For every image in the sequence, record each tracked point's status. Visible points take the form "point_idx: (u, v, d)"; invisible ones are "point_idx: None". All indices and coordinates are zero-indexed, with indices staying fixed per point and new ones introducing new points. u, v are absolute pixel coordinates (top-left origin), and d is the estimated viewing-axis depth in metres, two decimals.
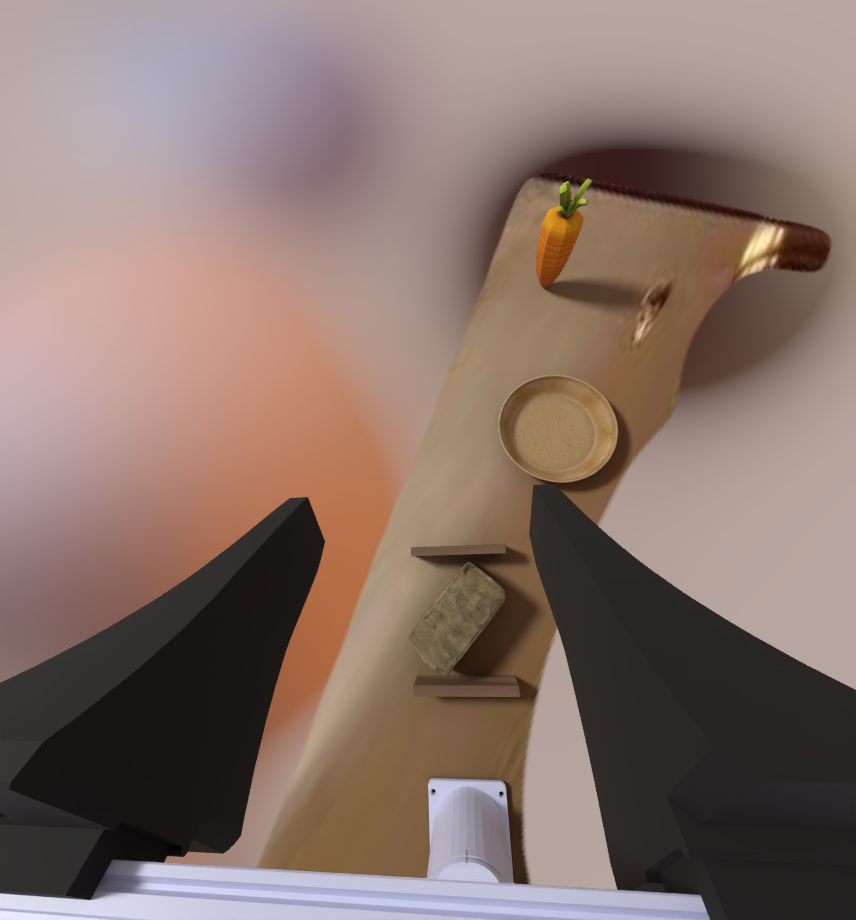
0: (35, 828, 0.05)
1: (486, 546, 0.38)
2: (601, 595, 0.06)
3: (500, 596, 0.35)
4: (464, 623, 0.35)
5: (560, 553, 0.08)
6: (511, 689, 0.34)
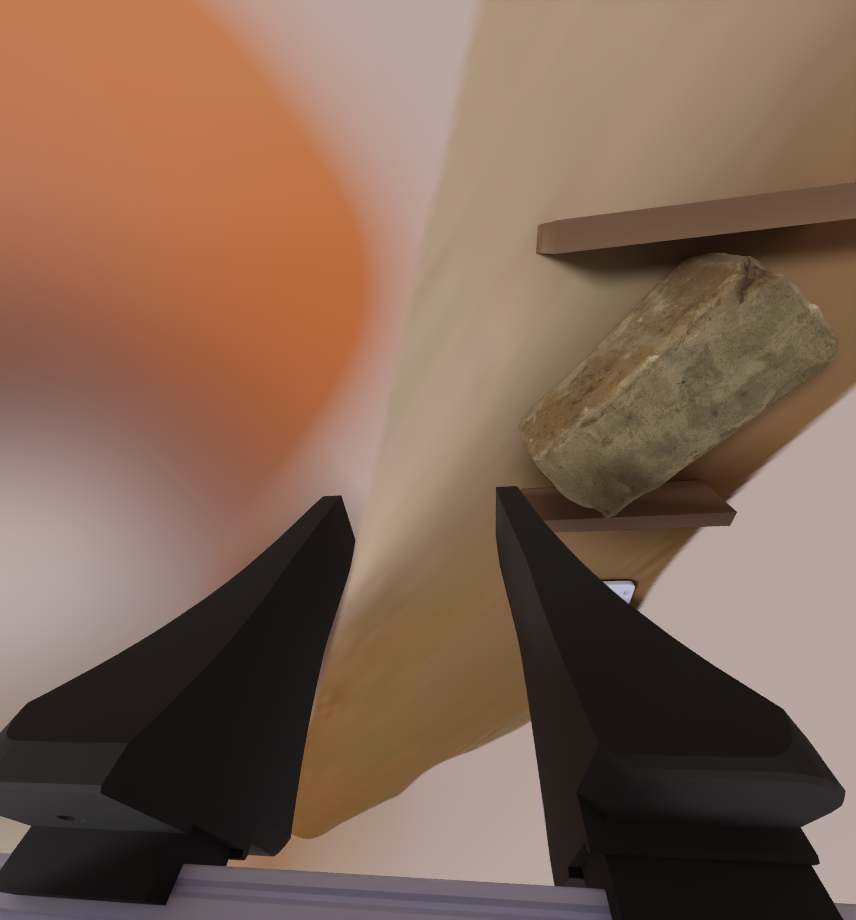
0: (104, 831, 0.05)
1: (836, 192, 0.11)
2: (537, 596, 0.06)
3: (826, 359, 0.12)
4: (690, 429, 0.14)
5: (514, 554, 0.08)
6: (718, 517, 0.18)
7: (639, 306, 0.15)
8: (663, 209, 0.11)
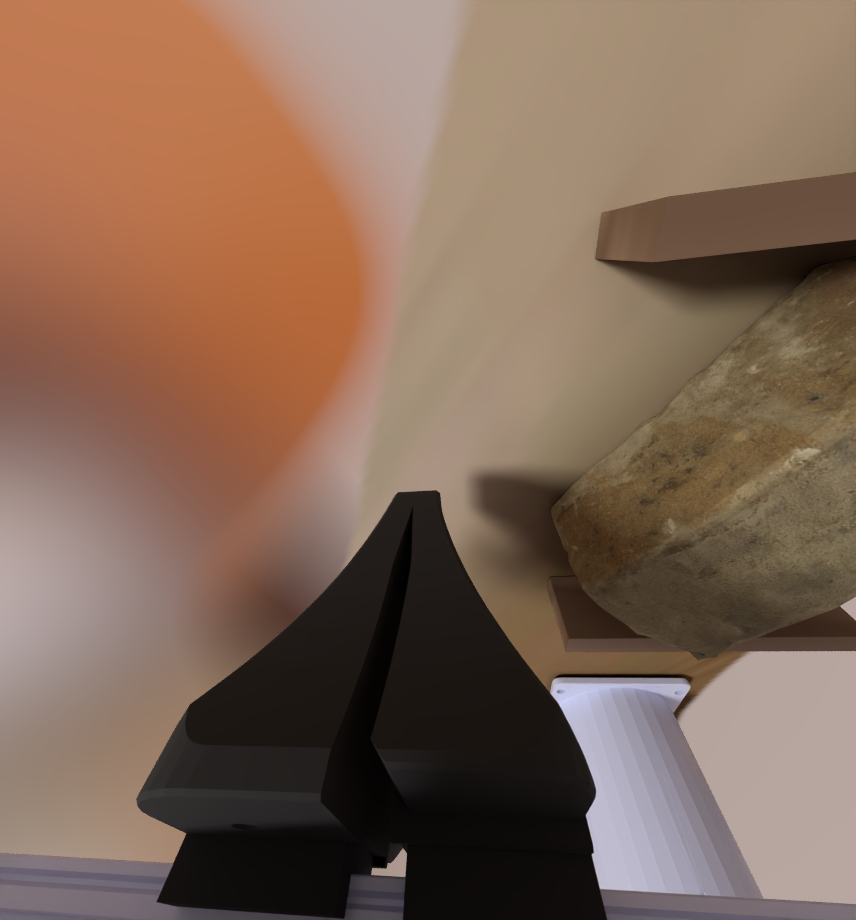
0: (267, 840, 0.04)
1: None
2: (404, 599, 0.06)
3: None
4: None
5: None
6: (844, 641, 0.13)
7: (742, 343, 0.09)
8: None
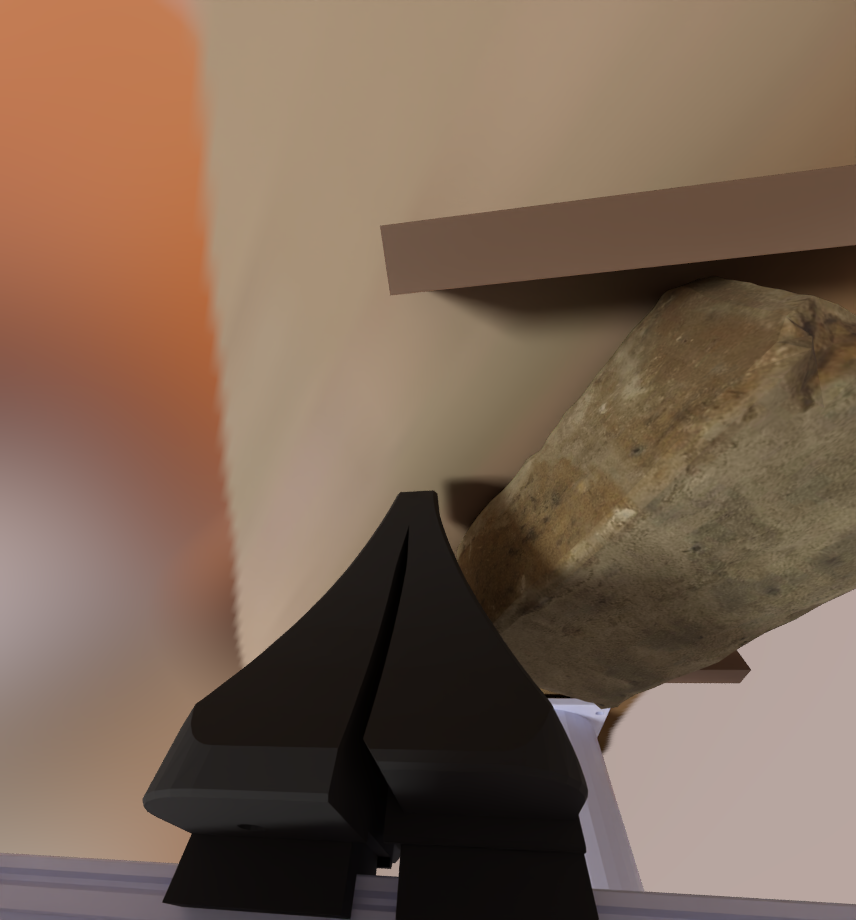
0: (272, 840, 0.04)
1: None
2: (400, 599, 0.06)
3: None
4: (726, 613, 0.07)
5: None
6: (723, 674, 0.12)
7: (602, 376, 0.09)
8: (607, 202, 0.05)
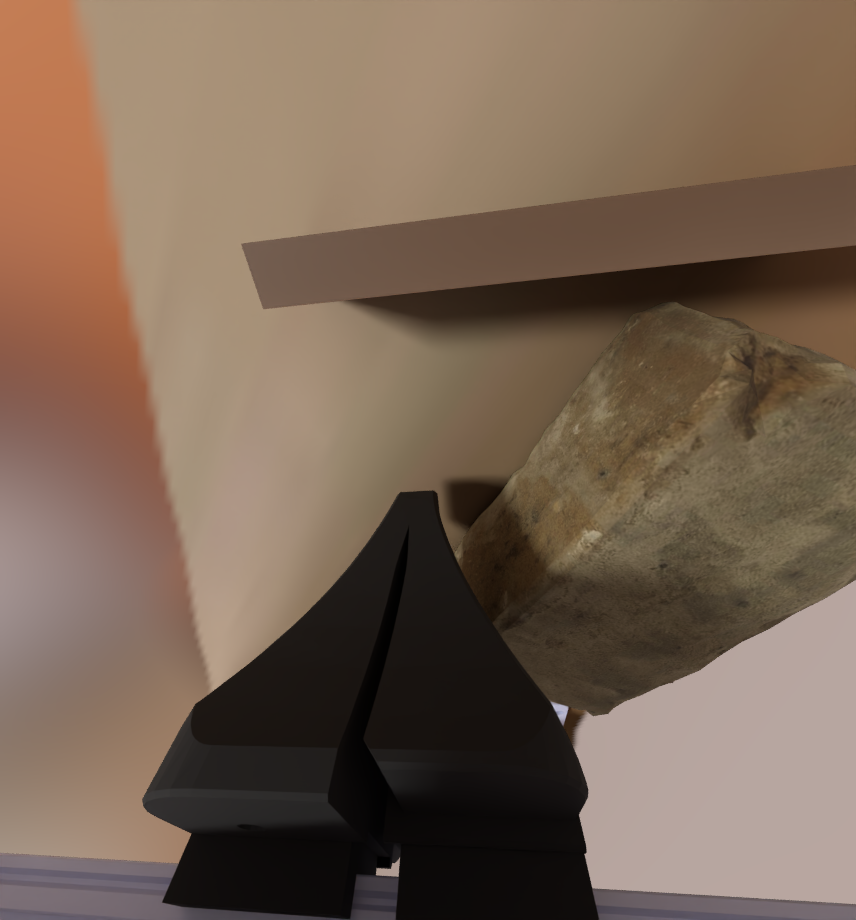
0: (272, 840, 0.04)
1: (822, 186, 0.05)
2: (400, 599, 0.06)
3: None
4: (700, 624, 0.07)
5: None
6: None
7: (577, 396, 0.09)
8: (451, 222, 0.05)
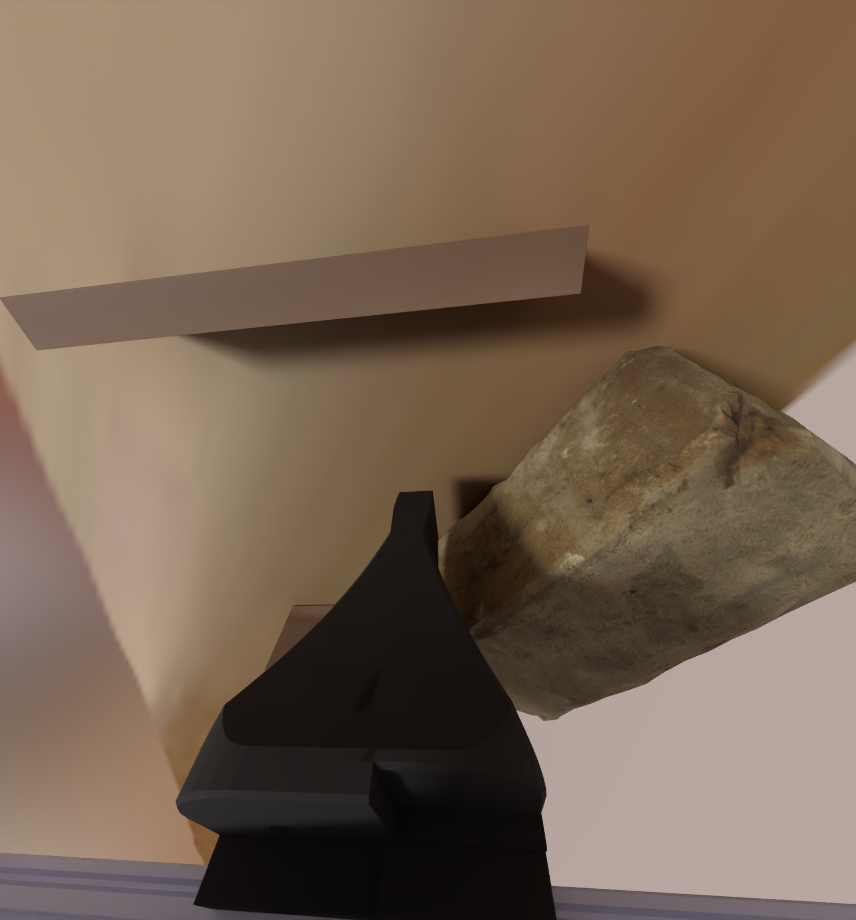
0: (301, 841, 0.04)
1: (456, 255, 0.06)
2: (376, 600, 0.06)
3: None
4: (654, 645, 0.08)
5: None
6: None
7: (567, 420, 0.09)
8: (167, 281, 0.06)
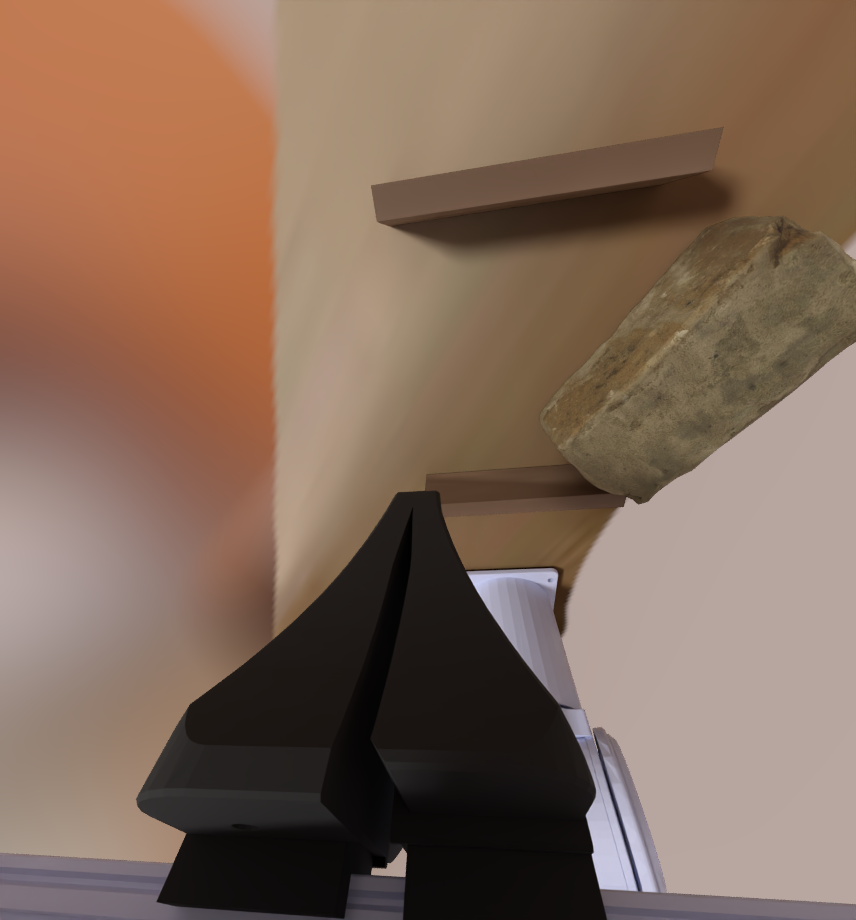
0: (267, 840, 0.04)
1: (646, 148, 0.10)
2: (405, 599, 0.06)
3: None
4: (726, 405, 0.13)
5: None
6: (610, 498, 0.18)
7: (661, 281, 0.14)
8: (475, 171, 0.11)
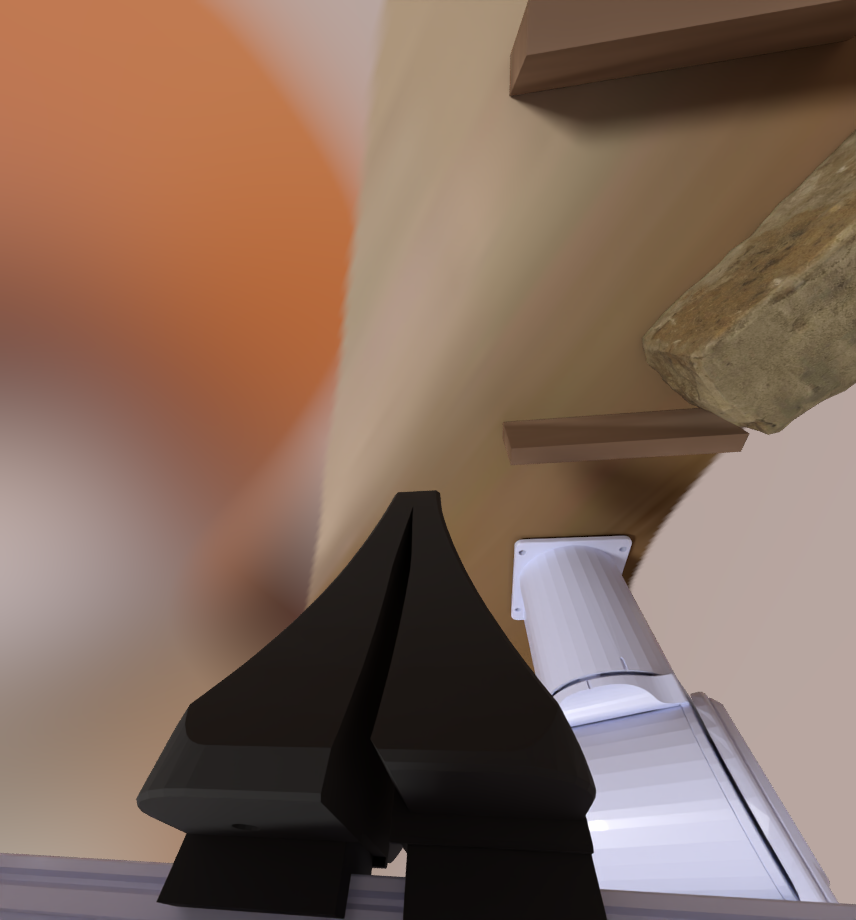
0: (266, 840, 0.04)
1: None
2: (404, 599, 0.06)
3: None
4: None
5: None
6: (728, 440, 0.16)
7: (829, 161, 0.12)
8: None
